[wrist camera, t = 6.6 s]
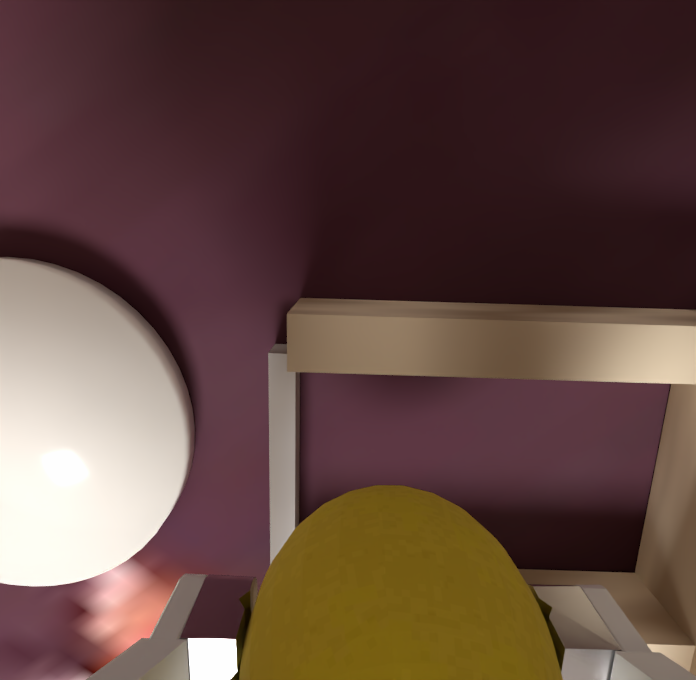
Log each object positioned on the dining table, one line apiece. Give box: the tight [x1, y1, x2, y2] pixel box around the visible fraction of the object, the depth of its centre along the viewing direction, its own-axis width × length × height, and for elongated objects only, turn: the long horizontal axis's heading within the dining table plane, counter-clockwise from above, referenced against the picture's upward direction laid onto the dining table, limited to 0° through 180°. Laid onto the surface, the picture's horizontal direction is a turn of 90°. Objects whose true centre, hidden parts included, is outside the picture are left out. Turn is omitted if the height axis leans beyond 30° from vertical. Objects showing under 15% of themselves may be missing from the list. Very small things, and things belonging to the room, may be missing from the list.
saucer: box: [0, 257, 195, 586], centre depth 15 cm, size 11×11×1 cm
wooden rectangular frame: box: [268, 298, 696, 676], centre depth 14 cm, size 14×11×4 cm
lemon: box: [239, 485, 563, 680], centre depth 8 cm, size 6×6×8 cm
